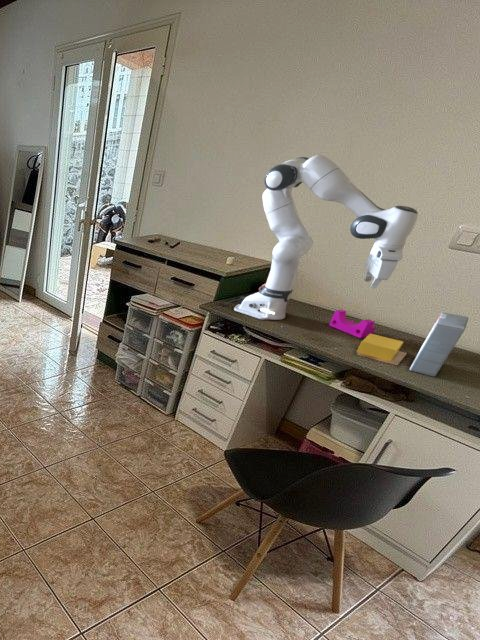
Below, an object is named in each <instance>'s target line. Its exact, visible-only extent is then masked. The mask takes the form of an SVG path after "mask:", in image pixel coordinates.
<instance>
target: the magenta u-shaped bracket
mask: <svg viewBox="0 0 480 640" xmlns="http://www.w3.org/2000/svg"><path fill="white" fill-rule="evenodd" d="M374 324H375V320H371V319H369V318H368V319H362V320H361V321H360V322H359V323H356V322H355V321H354V320H348V319H347V310H344V309H337V310H335V311H334V313H333V315H332V318H331V319H330V322H329V324H328V326H330V327H332V328H335V329H337V330H338V331H339V330H340V331H342V332H344V333H347V334H349V335H352V336H354V337H356V338H358V339H365V338H366V337H367V336H368V335H369V334H374V332H375V331H376V329H377V327H376V326H374Z"/></svg>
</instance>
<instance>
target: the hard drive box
mask: <svg viewBox="0 0 480 640" xmlns="http://www.w3.org/2000/svg"><path fill="white" fill-rule="evenodd" d="M468 322H469V316H465V315H461V314H460V315H459V314H453V313H449V312H443V311H441V312H440V314H439V316H438V317H437V319H436V321H435V322H434V324H433V326H432V328H431V329H430V331H429V333H428V334H427V337H426V338H425V340H424V342H423V343H422V345H421V347H420V349H419V350H418V352H417V354H416V356H415V357H414V359H413V361H412V363H411V365H410V367H409V371H411V372H415V373H418V374H423V375H426V376H430V377H436V376H437V375H438V373H439V371H440V370H441V368H442V367H443V365H444V364H445V362H446V361H447V359H448V358H449V356H450V354H451V353H452V351H453V349H454V348H455V346H456V345H457V343H458V341H459V340H460V339H461V336H462V335H463V333H464V331H465V330H466V328H467V325H468Z"/></svg>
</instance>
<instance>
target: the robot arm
mask: <svg viewBox="0 0 480 640" xmlns="http://www.w3.org/2000/svg"><path fill="white" fill-rule="evenodd" d="M263 182H264V186H265V187H266V189H265V190H264V191H263V192H262V196H261V198H262V199H261V200H262V206H263V210H264V214H265V217H266V220H267V223H268V226H269V229H270V231H271V232H273V234H274V235H275V236H276V238H277V240H278V242H277V243H276V245H274V247H273V249H272V252H271V253H272V257H271V258H272V259H271V265H270V269H269V270H270V271H269V273H268V277H267V280H266V283H264V284H262V285H261V286H259V288H258V291H257V292H254V293H252V294H250V295H247V296H242V295H241V296H240V297H239V298H236V299H232V300H231V299H230V300H229V301H228V302H227V303H220V304H219V305H221V306H224V307H225V306H228V305H230V304H231V303H232V302H237V301H238V302H237V304H236V305H235V306H234V308H233V310H234V311H235V312H238V313H241V314H244V315H247V316H250V317H253V318H255V319H259V320H261V321H262V320H263V321H264V320H271V321H272V320H273V321H278V320H279V321H280V320H283V319H285V318H286V311H287V305H288V303H289V301H290V299H291V297H292V294H293V287H294V285H295V282H296V280H297V277H298V275H299V273H298V270H299V265H300V261H301V258H302V257H303V256H306V255H307V254H308V253H309V252H310V251H311V249H312V247H313V244H314V240H313V238H312V236H310V234H309V233H308V231H307V228H306V227H305V225H304V224H303V222H302V220H301V218H300V216H299V213H298V210H297V207H296V204H295V202H294V201H295V200H294V199H293V195H292V191H293V189H294V188H298V187H299V186H300V185H301V184H302V183H303V184H305V185H306V186H307V187H308V189H309V190H310V191H311V192H312V193H313V194H314V195H315V196H316V197H317V198H319V199H321V200H323V201H327V202H328V201H329V202H335V203H339V204H341V205H344V206H345V207H347V208H348V209H349V210H350V211H351V212H352V213H353V215H355V216H356V218H355V219H354V220H353V221H352V222H351V225H350V228H349V231H350V234H351V235H352V236H353V237H354V238H355V239H358V240H359V239H361V240H366V239H367V240H368V239H369V240H370V239H374V243H373V245H372V248H371V249H370V252H369V256H368V257H367V260H366V261H365V263H364V268H365V269H366V271H365V277H364V279H363V280H364V282H367V283H369V282H371V281H372V279H373V281H372V282H371V283H370V285H369V287H370V289H375V290H376V289H377V288H378V285H379V284H380V283H381V282H382V281H387V280H389V279H390V277H391V276H392V274H393V273H394V271H395V269H396V268H397V265H398V263H399V261H400V262H401V261H402V259H403V258H404V254H403V250H404V247H405V246H406V242H407V239H408V237H409V235H411V233H412V232H413V229H414V227H415V225H416V222H417V219H418V215H419V212H418V211H417V209H415V208H413V207H410V206H405V205H395V206H393V207H391V208H387V209H385V208H382V207H381V206H378V205H377V204H375V202H373V201H372V200H371V199H370V198H369V197H368V196H367V195H366V194H364V193H363V192H362V191H361V190H360V189H359V188H358V187H357V186H356V184H354V183H353V182H352V180H351V179H350V178H349V176H348V175H347V174H346V173H345V172H344V171H343V170H342V169H341V168H340V166H338V165H337V163H335V162H334V161H333V160H331V159H330V158H328V157H327V156H325V155H323V154H316V155H313V156H311V157H306V156H300V157H296V158H293V159H288V160H286V161H284V162H282V163H280V164H277V165H274V166H273V167H272V168H270V169H269V170H268V171H267V172H266V173H265V176H264V181H263ZM373 277H374V278H373Z"/></svg>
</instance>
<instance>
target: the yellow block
mask: <svg viewBox="0 0 480 640" xmlns="http://www.w3.org/2000/svg"><path fill="white" fill-rule="evenodd" d="M403 344H404V340H399V339H395V338H390V337H386V336H383V335H379V334H374V333H373V334H369V335H368V336H367V337H364V338H363V340H361V342H360V343H359V346H358V348H357V350H356V353H362V354H365V355H369V356H373V357H376V358H380V359H384V360H387V361H391V360H392V359H393V357H394V356H395V355H396V354H397V353H398V351H400V349H401V348H402V346H403Z"/></svg>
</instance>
